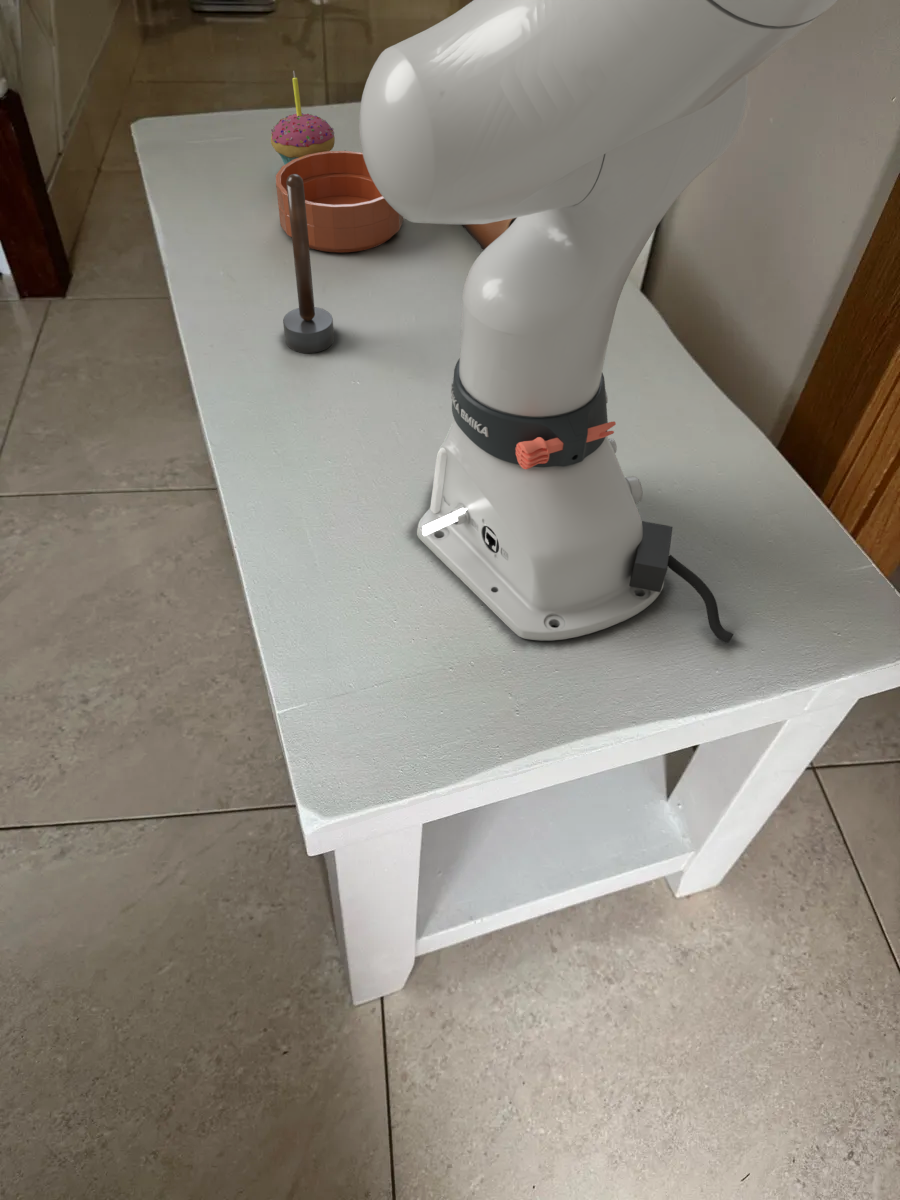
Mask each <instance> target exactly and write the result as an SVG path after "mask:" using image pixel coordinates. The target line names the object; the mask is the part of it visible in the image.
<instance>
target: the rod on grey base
mask: <svg viewBox="0 0 900 1200" xmlns="http://www.w3.org/2000/svg"><path fill="white" fill-rule="evenodd" d="M286 185H287V195H288V205H289V214H290V224H291V234H292V237H291V242H292V252H293V262H294V272H295V282H296V291H297V292H296V293H297V301H298V307H297V308H294V309H292V310H290V311H288V312H287V313H286V314H285V315H284V316H283V321H282V324H283V333H284V340H285V343H286V346H287V347H288V348H289V349H291V350H293V351H295V352H297V353H301V354H302V353H303V354H313V353H314V354H315V353H319V352H323V351H326V350H327V349H329V348H330V347H331V346H332V345H333V344H334V342H335V329H334V319H333V316H332V314H331V313H330V312H329V311H327V309H324V308H321V307H317V306H315V297H314V285H313V276H312V275H313V274H312V262H311V252H310V248H309V239H308V228H307V217H306V205H305V194H304V183H303V179H302V178H301V177H300V176H299V175H297V174H292V175H290V176H289V177H288V178H287V181H286Z"/></svg>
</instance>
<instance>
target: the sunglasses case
mask: <svg viewBox="0 0 900 1200" xmlns="http://www.w3.org/2000/svg"><path fill="white" fill-rule="evenodd" d="M515 220H516V218H512V219H507V220H502V221H497V222H492V223H487V224H461V226H462V227H463V228H464V229H465V230H466V231H467V233H468V234H469V235H470V236H471V237H472V239H473V240H475V241H476V243H477V244H478V245H479V246H480V248H482V251H484V250H485V249H486V248H487V247H488V246H489V245H490V244H491V243H492V242H493V241H494V240H496V239H497V238H498V237H499V236H500V235H501V234H503V233H504V232H505V231H506V230H507V229H508V228H509V227H510V226H511V224H512V223H513V222H514V221H515Z"/></svg>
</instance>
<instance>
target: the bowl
mask: <svg viewBox="0 0 900 1200" xmlns="http://www.w3.org/2000/svg"><path fill="white" fill-rule="evenodd" d="M292 174H297V175H299V176H300V177H301V178H302V179H303V183H304V194H305V205H306V217H307V228H308V239H309V249H312V250H315V251H316V250H317V251H321V252H326V253H327V252H329V253H355V252H361V251H362V252H363V251H366V250H369V249H373V248H376V247H378V246H380V245H383V244H384V243H386V242H388V241H389V240H390V239H391V238H392V237H393V236H394V235H396V234H397V233H398V232H400V229H401V227H402V225H403V223H404V217H403V216H401V215H400V214H399V213H398V212H396V211H395V210H394V209H393V208H392V207H391V206H390V205H389V204H388V202H387V201H386V200H385V199H384V197H383V196H382V195H381V193H380V192H379V191H378V189H377V187H376V186H375V184H374V182H373V180H372V178H371V176H370V174H369V172H368V169H367V166H366V164H365V161H364V157H363V154H362V151H361V152H360V151H352V150H351V151H350V150H330V151H327V152H326V151H325V152H319V153H313V154H308V155H305V156H302V157H299V158H296V159H294V160H292V161H290V162H289V163H287V164H285V165H284V164H283V165H282V166H281V167H280V169H279V170H278V172H277V173H276V174H275V187H276V188H275V189H276V196H277V207H278V214H279V224H280V227H281V228H282V230H283V231H284V232H285V234H286V235H287V236H289V237H290V238H292V234H291V224H290V214H289V205H288V195H287V185H286V181H287V178H288V177H289V176H290V175H292Z"/></svg>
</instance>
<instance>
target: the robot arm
mask: <svg viewBox="0 0 900 1200" xmlns="http://www.w3.org/2000/svg"><path fill="white" fill-rule="evenodd" d="M838 1H839V0H472V1H470V2H469V3H467V4H465V6H463V7H462V8H460V9H459V10H457V11H456V12H455V13H452V15H450V16H448V17H446V18H445V19H443V20H441V21H440V22H438V23H436V24H434V25H432V26H431V27H428V28H427V29H425V30H423V31H421V32H419V33H417V34H413V35H412V36H410V37H408V38H406V39H404V40H402V41H399V42H397V43H395V44H393V45H390V46H389V47H387V48H385V49H384V50H383V51H381V53H380V54H379V56H378V57H377V59H376V60H375V62H374V64H373V65H372V68H371V70H370V71H369V75H368V77H367V79H366V82H365V84H364V88H363V92H362V95H361V100H360V106H359V113H358V133H359V143H360V149H361V153H362V154H363V157H364V161H365V164H366V166H367V169H368V172H369V174H370V176H371V178H372V180H373V182H374V184H375V186H376V187H377V189H378V191H379V192H380V193H381V195H382V196H383V197H384V199H385V200H386V201H387V202H388V204H389V205H390V206H391V207H392V208H393V209H394V210H395V211H396V212H398V213H399V214H400V215H401V216H403V219H405V220H406V221H408V222H410V223H414V224H432V225H433V224H434V225H435V224H436V225H462V224H487V223H492V222H497V221H502V220H507V219H512V218H516V220H515V221H514V222H513V223H512V224H511V226H510V227H509V228H508V229H507V230H506V231H505V232H504V233H503V234H501V235H500V236H499V237H498V238H497V239H496V240H494V241H493V242H492V243H491V244H490V245H489V246H488V247H487V248H486V249H485V250H482V251H481V253H480V254H479V255H477V257H476V258H475V260H474V262H473V263H472V265H471V266H470V268H469V271H468V273H467V274H466V278H465V281H464V285H463V288H462V298H461V317H460V318H461V319H460V341H459V358H458V360H457V361H456V364H455V366H454V369H453V377H452V379H451V386H450V387H451V388H450V396H451V397H450V398H451V413H452V416H453V419H452V422H451V425H450V427H449V429H448V431H447V434H446V436H445V438H444V440H443V441H442V443H441V445H440V446H439V449H438V452H437V454H436V460H435V467H434V474H433V475H434V476H433V482H432V491H431V498H430V507H429V508H428V510H426V512H425V513H424V514H423V515H422V516H421V518H420V519H419V521H418V524H417V529H416V535H417V538H418V539H419V540H420V541H421V542H422V543H423V544H424V545H425V546H426V547H427V548H428V549H429V551H431V552H432V554H434V556H436V557H437V558H438V559H439V560H440V561H441V562H442V563H443V564H444V565H445V566H446V567H447V568H448V569H449V570H450V571H451V572H452V573H453V574H454V575H455V576H456V577H457V578H458V579H459V580H460V581H461V582H462V583H463V584H464V585H465V586H467V588H468V589H469V590H470V591H471V592H473V594H474V595H475V596H477V598H478V599H479V600H480V601H482V603H484V605H486V606H487V607H488V608H489V609H490V611H492V612H493V613H494V614H495V616H496V617H498V618H499V619H500V620H501V621H502V622H503V623H504V625H506V626H507V627H508V628H509V629H510V630H511V632H512V633H514V634H515V635H516V636H518V637H519V638H521V639H523V640H531V641H561V640H567V639H572V638H578V637H582V636H587V635H590V634H593V633H596V632H599V631H602V630H606V629H609V628H610V627H612V626H616V625H618V624H620V623H623V622H625V621H627V620H629V619H630V618H633V617H635V616H636V615H638V614H639V613H641V612H643V611H644V610H645V609H646V608H648V607H649V606H651V605H652V604H653V602H654V601H656V600H657V598H658V597H659V596H660V594H661V593H662V591H663V589H664V585H665V578H666V576H667V572H668V568H669V569H670V570H671V571H673V572H674V573H675V574H677V576H679V577H680V578H682V579H683V580H684V581H685V582H686V583H688V584H689V585H690V586H691V587H692V588H693V589H694V590H695V591H696V592H697V593H698V595H699V596H700V597H701V599H702V600H703V602H704V605H705V609H706V614H707V615H706V616H707V622H708V625H709V627H710V630H711V633H713V635H714V636H715V637H716V638H717V639H718V640H720V641H722V642H724V643H726V644H729V643H730V641H731V640H732V638H733V637H734V633H732V632H730V631H728V630H727V629H725V628H724V627H723V625H722V623H721V620H720V615H719V609H718V604H717V600H716V598H715V596H714V594H713V592H712V591H711V590H710V588H709V586H708V585H707V584H706V583H705V582H704V580H702V579H701V578H700V577H699V576H698V575H696V573H694V572H693V571H692V570H690V568H688V567H687V566H685V565H684V564H682V563H681V562H680V561H679V560H677V559H676V558H675V557H674V556H673V555H672V554H670V551H671V542H672V536H673V529H674V528H673V526H671V525H666V524H661V523H656V522H655V523H654V522H650V521H645V520H642V518H641V515H640V512H639V509H638V507H637V504H638V503H640V502H642V499H643V495H644V494H643V485H642V483H641V480H640V479H639V477H638V476H635V475H630V476H625V474H624V472H623V470H622V467H621V465H620V462H619V460H618V457H617V454H616V453H617V451H618V448H617V447H618V446H617V442H616V441H615V438H609V436H612V435H613V434H614V433H615V430H610V429H611V428H614V427H615V426H616V421H608V408H607V407H608V406H607V404H608V394H607V389H606V382H605V376H604V373H603V371H604V366H605V365H604V364H605V359H606V356H607V355H606V354H607V350H608V345H609V341H610V336H611V333H612V327H613V324H614V319H615V314H616V312H617V307H618V303H619V300H620V297H621V294H622V292H623V289H624V287H625V284H626V282H627V280H628V278H629V275H630V274H631V272H632V270H633V268H634V266H635V264H636V262H637V260H638V258H639V257H640V254H641V253H642V251H643V250H644V248H645V246H646V244H647V243H648V241H649V239H650V238H651V236H652V235H653V233H654V231H655V230H656V228H657V227H658V225H659V224H660V223H661V221H662V219H663V218H664V217H665V215H666V214H667V212H669V210H670V208H671V207H672V206H673V204H674V203H675V201H676V200H677V199H679V197H680V196H681V195H682V194H683V192H684V191H685V190H686V189H687V187H688V186H689V185H691V184H692V183H693V181H694V180H696V178H698V176H699V175H700V174H702V173H703V172H704V171H705V170H706V169H708V168H709V167H710V166H711V165H712V164H714V163H715V161H717V160H719V159H720V158H721V157H722V156H723V155H724V153H726V151H727V150H728V148H729V147H730V146H731V144H732V143H733V142H734V140H735V137H736V136H737V133H738V131H739V129H740V126H741V123H742V121H743V117H744V114H745V110H746V105H747V100H748V91H749V74H750V73H752V72H753V71H754V70H755V69H757V68H758V67H759V66H761V65H762V64H763V63H764V62H765V61H767V60H768V59H769V58H770V57H772V56H773V55H774V54H775V53H776V52H778V51H779V50H780V49H781V48H783V47H784V46H785V45H786V44H787V43H789V42H790V41H791V40H792V39H793V38H795V37H796V36H797V35H798V34H800V33H801V32H803V30H804V29H806V28H807V27H808V26H809V25H811V24H812V23H813V22H814V21H816V19H818V18H819V17H820V16H822V15H823V14H824V13H826V11H828V10H829V9H830V8H831V7H832V6H834V5H835V4H836V3H837V2H838ZM554 626H555V627H554Z"/></svg>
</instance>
